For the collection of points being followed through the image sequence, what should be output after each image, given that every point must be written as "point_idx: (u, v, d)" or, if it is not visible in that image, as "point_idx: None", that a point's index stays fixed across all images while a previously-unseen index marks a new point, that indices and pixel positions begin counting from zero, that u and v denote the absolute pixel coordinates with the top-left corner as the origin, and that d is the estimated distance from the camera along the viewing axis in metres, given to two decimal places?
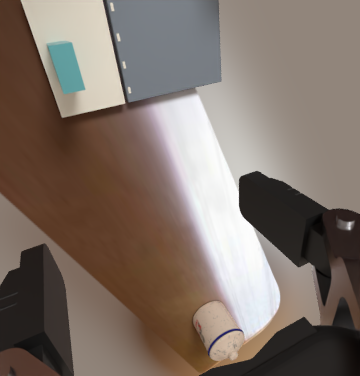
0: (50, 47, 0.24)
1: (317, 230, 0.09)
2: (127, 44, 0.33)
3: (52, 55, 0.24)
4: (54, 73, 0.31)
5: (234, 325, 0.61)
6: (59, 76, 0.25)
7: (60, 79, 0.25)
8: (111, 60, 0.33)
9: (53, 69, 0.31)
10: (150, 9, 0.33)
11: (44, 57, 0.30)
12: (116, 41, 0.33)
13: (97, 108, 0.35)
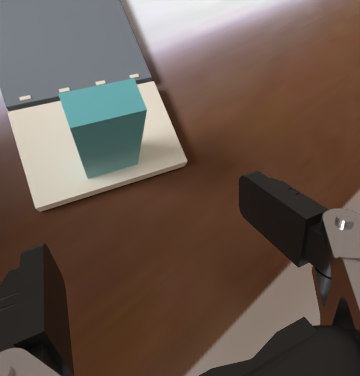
0: (71, 124, 0.14)
1: (317, 230, 0.09)
2: (72, 79, 0.23)
3: (84, 122, 0.14)
4: (126, 169, 0.22)
5: None
6: (118, 114, 0.14)
7: (122, 113, 0.14)
8: None
9: (121, 170, 0.22)
10: (20, 51, 0.23)
11: (107, 181, 0.21)
12: None
13: (166, 116, 0.24)
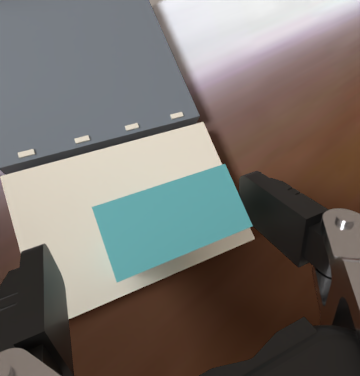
0: (119, 273, 0.07)
1: (317, 230, 0.09)
2: (92, 122, 0.16)
3: (143, 266, 0.07)
4: None
5: None
6: (203, 241, 0.08)
7: (212, 237, 0.08)
8: (127, 150, 0.16)
9: None
10: (19, 83, 0.16)
11: (146, 278, 0.15)
12: (90, 143, 0.16)
13: None
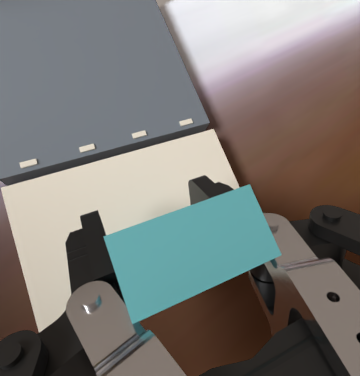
0: (135, 313, 0.06)
1: None
2: (97, 130, 0.16)
3: (162, 304, 0.06)
4: None
5: None
6: (228, 273, 0.07)
7: (237, 269, 0.07)
8: (135, 159, 0.16)
9: None
10: (21, 88, 0.15)
11: None
12: (95, 152, 0.15)
13: (234, 182, 0.16)
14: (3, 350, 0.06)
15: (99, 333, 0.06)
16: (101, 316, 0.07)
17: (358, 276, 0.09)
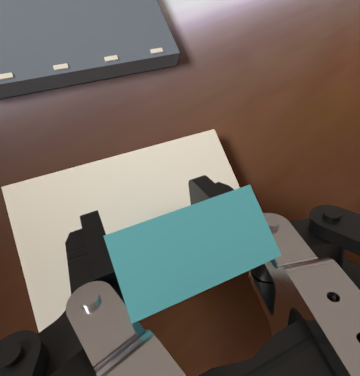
0: (135, 313, 0.06)
1: None
2: (71, 52, 0.17)
3: (162, 303, 0.06)
4: None
5: None
6: (228, 273, 0.07)
7: (237, 269, 0.07)
8: (135, 159, 0.16)
9: None
10: (0, 12, 0.16)
11: None
12: (69, 71, 0.16)
13: (235, 183, 0.16)
14: (3, 350, 0.06)
15: (99, 333, 0.06)
16: (101, 316, 0.07)
17: (358, 276, 0.09)
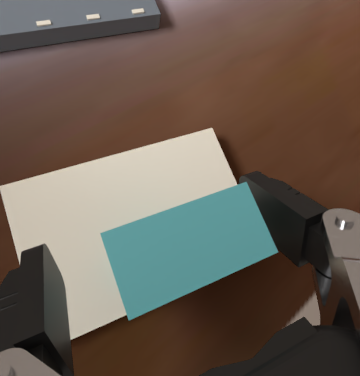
0: (132, 310, 0.06)
1: (317, 230, 0.09)
2: (54, 10, 0.17)
3: (159, 300, 0.06)
4: None
5: None
6: (224, 270, 0.07)
7: (233, 266, 0.07)
8: (133, 158, 0.16)
9: None
10: None
11: None
12: (52, 27, 0.17)
13: (233, 181, 0.16)
14: None
15: None
16: None
17: None
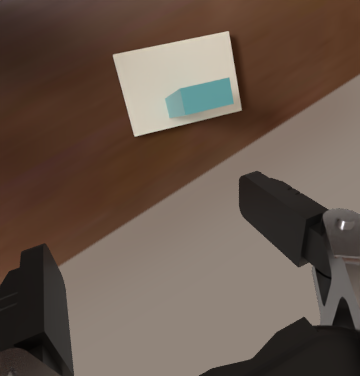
0: (186, 112, 0.21)
1: (317, 230, 0.09)
2: None
3: (194, 111, 0.21)
4: (197, 113, 0.30)
5: None
6: (215, 106, 0.22)
7: (218, 105, 0.22)
8: (180, 46, 0.28)
9: (193, 113, 0.29)
10: None
11: (182, 121, 0.29)
12: None
13: (233, 68, 0.29)
14: None
15: None
16: None
17: None
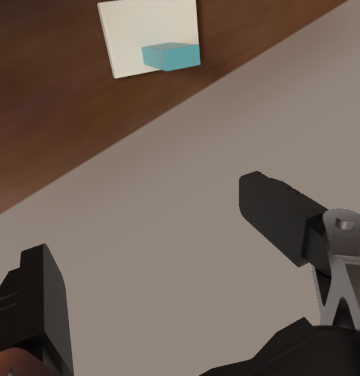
0: (167, 69, 0.29)
1: (317, 230, 0.09)
2: None
3: (173, 68, 0.29)
4: None
5: None
6: (187, 65, 0.30)
7: (189, 65, 0.30)
8: (156, 1, 0.33)
9: None
10: None
11: (154, 67, 0.36)
12: None
13: (196, 25, 0.36)
14: None
15: None
16: None
17: None
